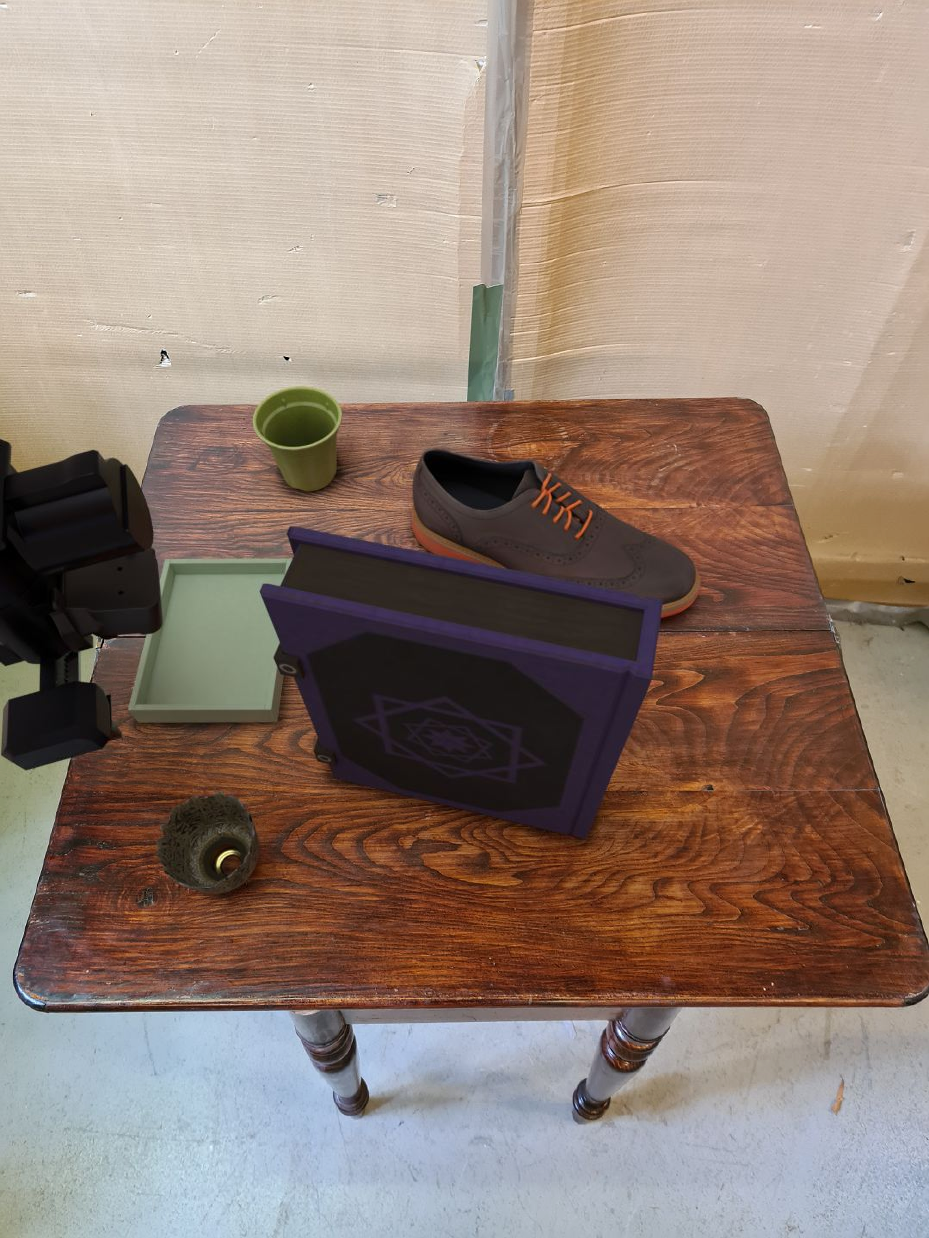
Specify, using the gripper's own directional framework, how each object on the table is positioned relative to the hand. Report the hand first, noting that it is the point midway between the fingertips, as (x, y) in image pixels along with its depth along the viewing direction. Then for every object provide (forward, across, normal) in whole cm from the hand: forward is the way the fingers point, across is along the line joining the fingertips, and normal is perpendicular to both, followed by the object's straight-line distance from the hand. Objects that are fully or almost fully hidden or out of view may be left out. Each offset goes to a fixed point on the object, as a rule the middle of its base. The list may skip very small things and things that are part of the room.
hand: (113, 685), depth 63 cm
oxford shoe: (+17, +11, -39) cm, 44 cm away
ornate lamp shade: (+14, -12, -3) cm, 19 cm away
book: (+16, -10, -24) cm, 30 cm away
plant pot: (+15, +30, -17) cm, 38 cm away
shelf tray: (+13, +10, -5) cm, 17 cm away
